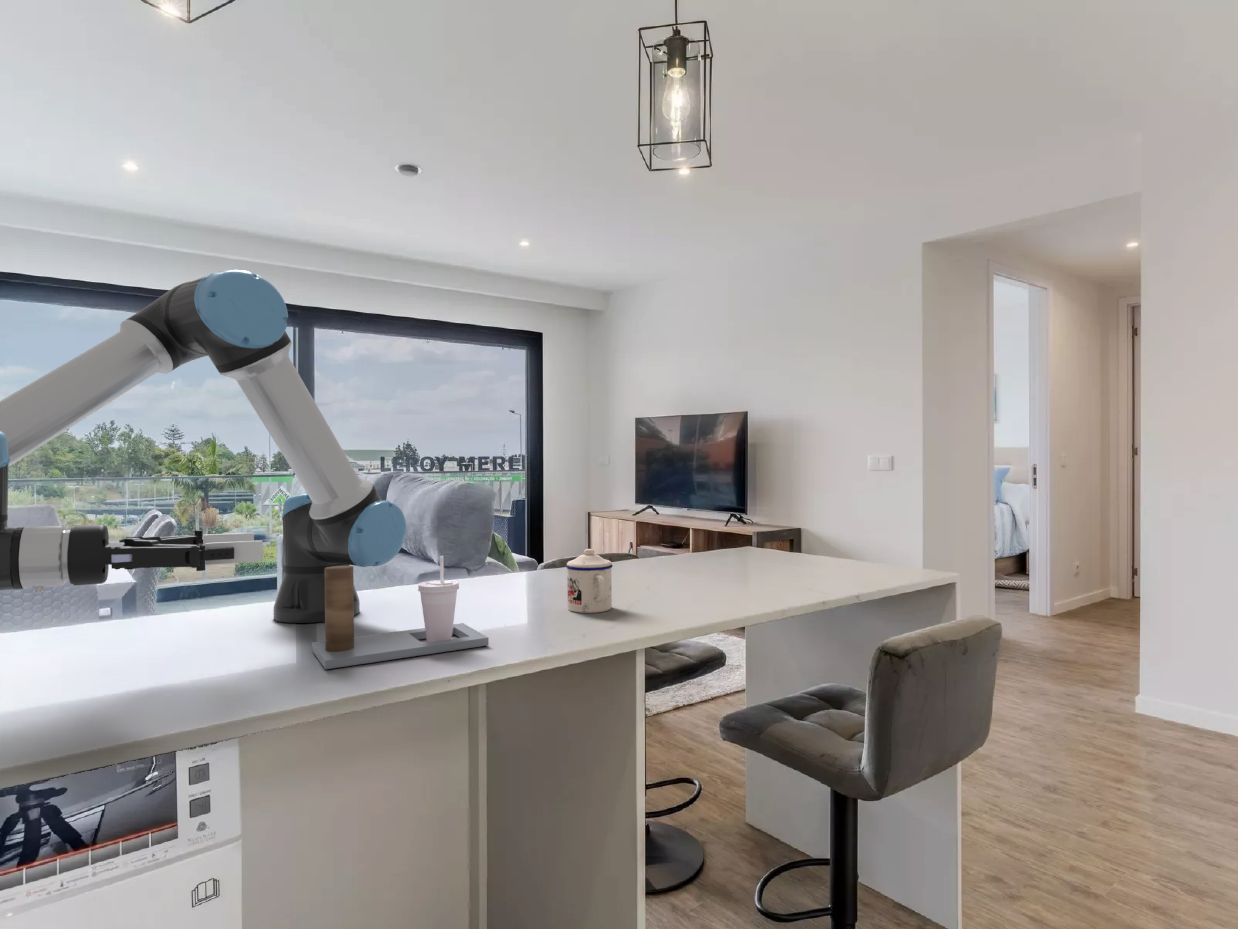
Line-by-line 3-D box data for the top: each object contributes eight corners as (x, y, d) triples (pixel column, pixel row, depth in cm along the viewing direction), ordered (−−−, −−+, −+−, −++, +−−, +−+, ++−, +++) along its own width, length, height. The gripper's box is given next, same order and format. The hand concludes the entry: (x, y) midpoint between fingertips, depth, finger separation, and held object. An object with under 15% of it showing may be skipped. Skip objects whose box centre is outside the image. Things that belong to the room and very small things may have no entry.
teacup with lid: (560, 606, 143) (559, 548, 143) (602, 602, 147) (602, 545, 147) (580, 618, 132) (580, 555, 132) (626, 614, 136) (625, 552, 136)
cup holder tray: (311, 650, 110) (311, 564, 110) (463, 630, 123) (462, 553, 123) (325, 669, 100) (324, 574, 100) (488, 645, 113) (487, 561, 113)
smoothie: (449, 649, 111) (448, 559, 111) (410, 647, 112) (410, 558, 112) (466, 639, 117) (465, 553, 117) (429, 638, 118) (429, 553, 118)
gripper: (80, 573, 101) (250, 562, 112) (53, 601, 79) (266, 585, 90) (80, 519, 101) (250, 514, 112) (53, 533, 79) (266, 525, 90)
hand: (258, 546), depth 101 cm, fingers open, 13 cm apart
